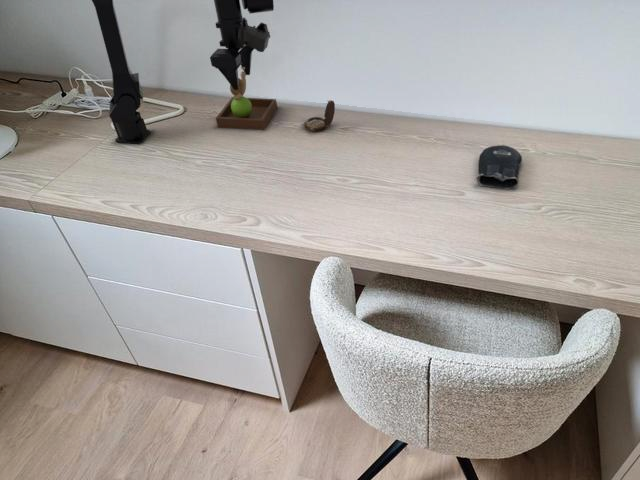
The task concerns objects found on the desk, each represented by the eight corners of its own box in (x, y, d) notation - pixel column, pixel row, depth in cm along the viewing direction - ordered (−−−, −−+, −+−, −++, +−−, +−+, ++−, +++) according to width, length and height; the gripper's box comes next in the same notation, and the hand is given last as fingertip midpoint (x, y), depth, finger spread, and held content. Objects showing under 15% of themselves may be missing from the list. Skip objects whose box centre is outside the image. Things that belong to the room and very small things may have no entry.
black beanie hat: (519, 196, 106) (522, 152, 115) (520, 176, 102) (523, 132, 111) (475, 195, 109) (481, 153, 118) (475, 175, 105) (481, 133, 114)
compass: (308, 119, 131) (306, 93, 126) (337, 123, 129) (335, 96, 124) (298, 133, 125) (294, 106, 120) (327, 137, 124) (325, 110, 119)
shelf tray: (217, 127, 129) (215, 117, 127) (233, 106, 138) (232, 97, 136) (264, 129, 127) (262, 120, 125) (277, 108, 136) (276, 99, 134)
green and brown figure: (259, 112, 133) (252, 68, 125) (245, 123, 129) (236, 77, 120) (243, 109, 135) (234, 64, 126) (229, 119, 130) (219, 73, 122)
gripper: (250, 30, 107) (262, 99, 118) (273, 4, 121) (282, 69, 132) (202, 28, 109) (217, 97, 120) (230, 3, 122) (242, 67, 133)
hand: (242, 82), depth 126 cm, fingers open, 9 cm apart
